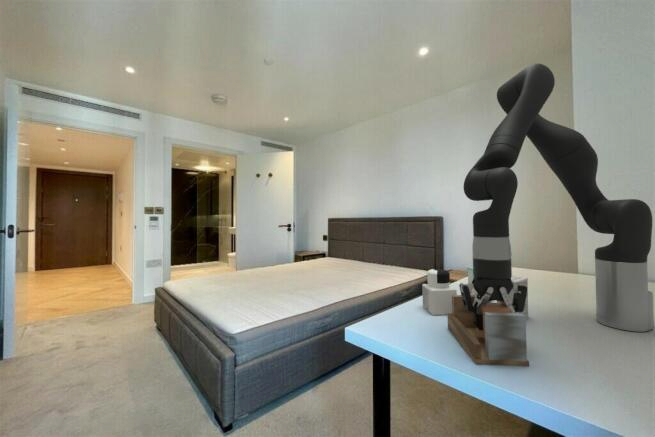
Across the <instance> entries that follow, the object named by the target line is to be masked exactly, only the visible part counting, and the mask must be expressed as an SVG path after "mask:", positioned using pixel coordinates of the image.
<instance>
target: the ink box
mask: <svg viewBox="0 0 655 437" xmlns="http://www.w3.org/2000/svg"><path fill="white" fill-rule="evenodd" d="M528 280H529V279H528V277H524V276H517V275H512V277H511V281H512V283H513V284H517V283H519V284H521V285H524V286H526V287H527V288H529V287H528V286H529V284H528V283H529V282H528ZM528 292H529V291H528V289H527V295H526V300H525V306H524V311H523V312H517V313H522V314H524V315H525V316H526V319H528V318H529V296H528V294H529V293H528ZM508 296H509V298H510V300H511V302H512V301H513V296H514V292H513V289H512V290H511V291H510V293H509V294H508ZM496 303H500V302H499V301H496Z"/></svg>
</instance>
